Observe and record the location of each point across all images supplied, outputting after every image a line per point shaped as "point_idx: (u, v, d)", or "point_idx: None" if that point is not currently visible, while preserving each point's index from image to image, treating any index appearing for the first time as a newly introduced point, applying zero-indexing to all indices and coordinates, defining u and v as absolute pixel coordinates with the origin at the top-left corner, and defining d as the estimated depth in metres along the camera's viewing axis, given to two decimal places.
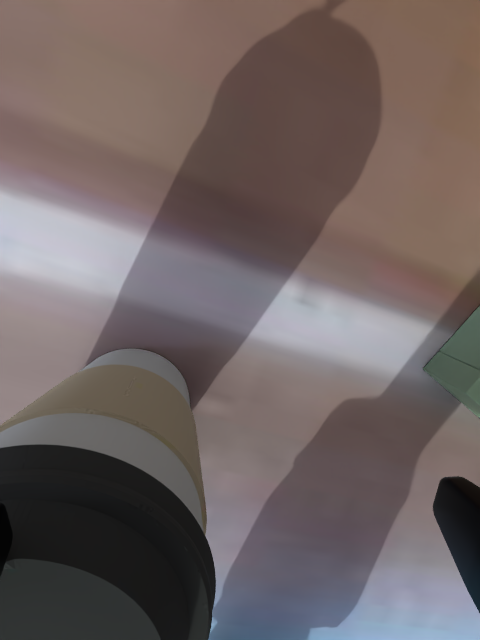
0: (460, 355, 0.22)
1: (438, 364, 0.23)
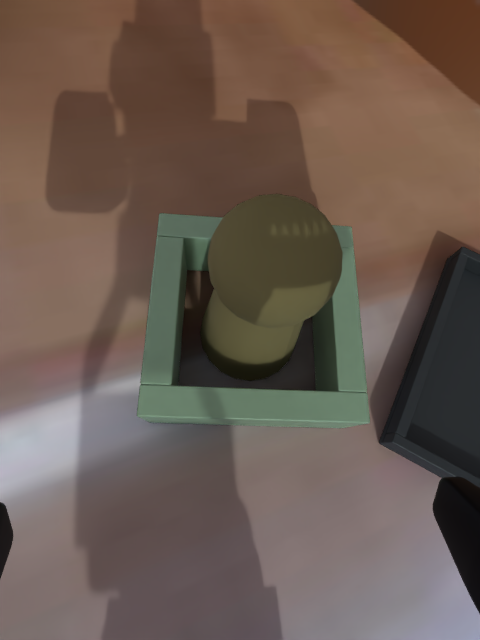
0: None
1: None
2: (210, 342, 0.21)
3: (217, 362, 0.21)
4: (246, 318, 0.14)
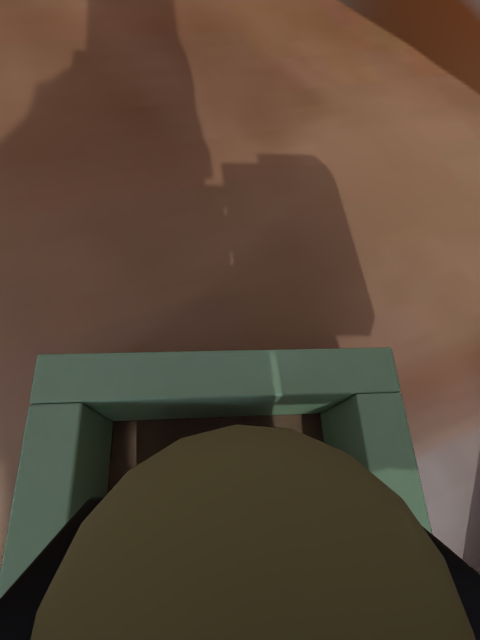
0: None
1: None
2: None
3: None
4: None
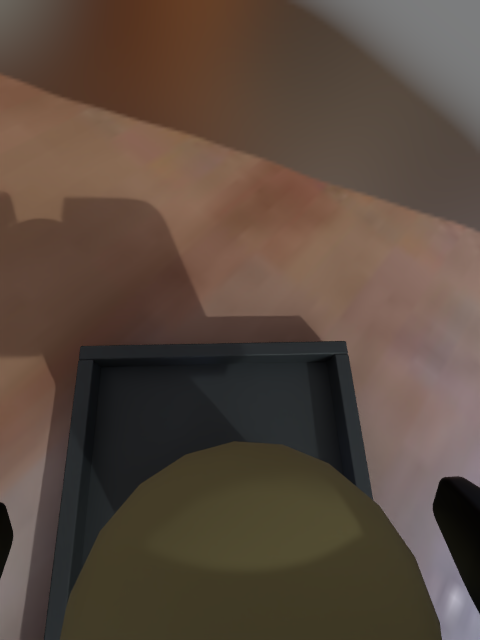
0: None
1: None
2: None
3: None
4: None
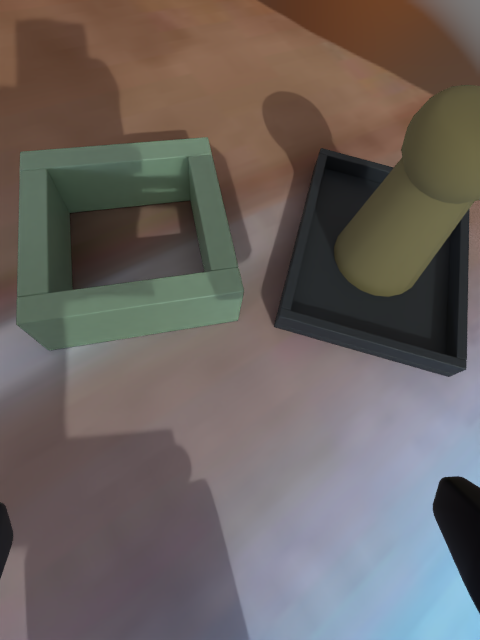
0: None
1: None
2: (352, 245, 0.23)
3: (351, 270, 0.24)
4: (436, 180, 0.16)
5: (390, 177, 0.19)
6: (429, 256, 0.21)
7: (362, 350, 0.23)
